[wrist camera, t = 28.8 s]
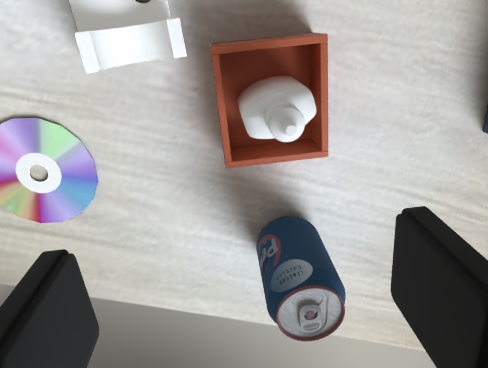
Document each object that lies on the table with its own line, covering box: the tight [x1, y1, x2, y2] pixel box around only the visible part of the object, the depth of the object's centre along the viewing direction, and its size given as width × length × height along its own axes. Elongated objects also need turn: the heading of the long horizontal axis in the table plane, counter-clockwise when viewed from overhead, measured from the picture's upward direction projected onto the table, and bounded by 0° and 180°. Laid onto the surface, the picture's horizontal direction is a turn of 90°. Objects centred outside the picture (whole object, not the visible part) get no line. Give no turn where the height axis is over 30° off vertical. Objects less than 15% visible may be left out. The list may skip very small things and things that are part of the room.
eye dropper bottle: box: [237, 76, 316, 142], centre depth 29 cm, size 4×6×12 cm
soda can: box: [257, 216, 345, 341], centre depth 36 cm, size 7×7×12 cm
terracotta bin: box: [210, 33, 328, 168], centre depth 33 cm, size 10×9×5 cm
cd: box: [0, 118, 98, 223], centre depth 36 cm, size 11×11×1 cm
